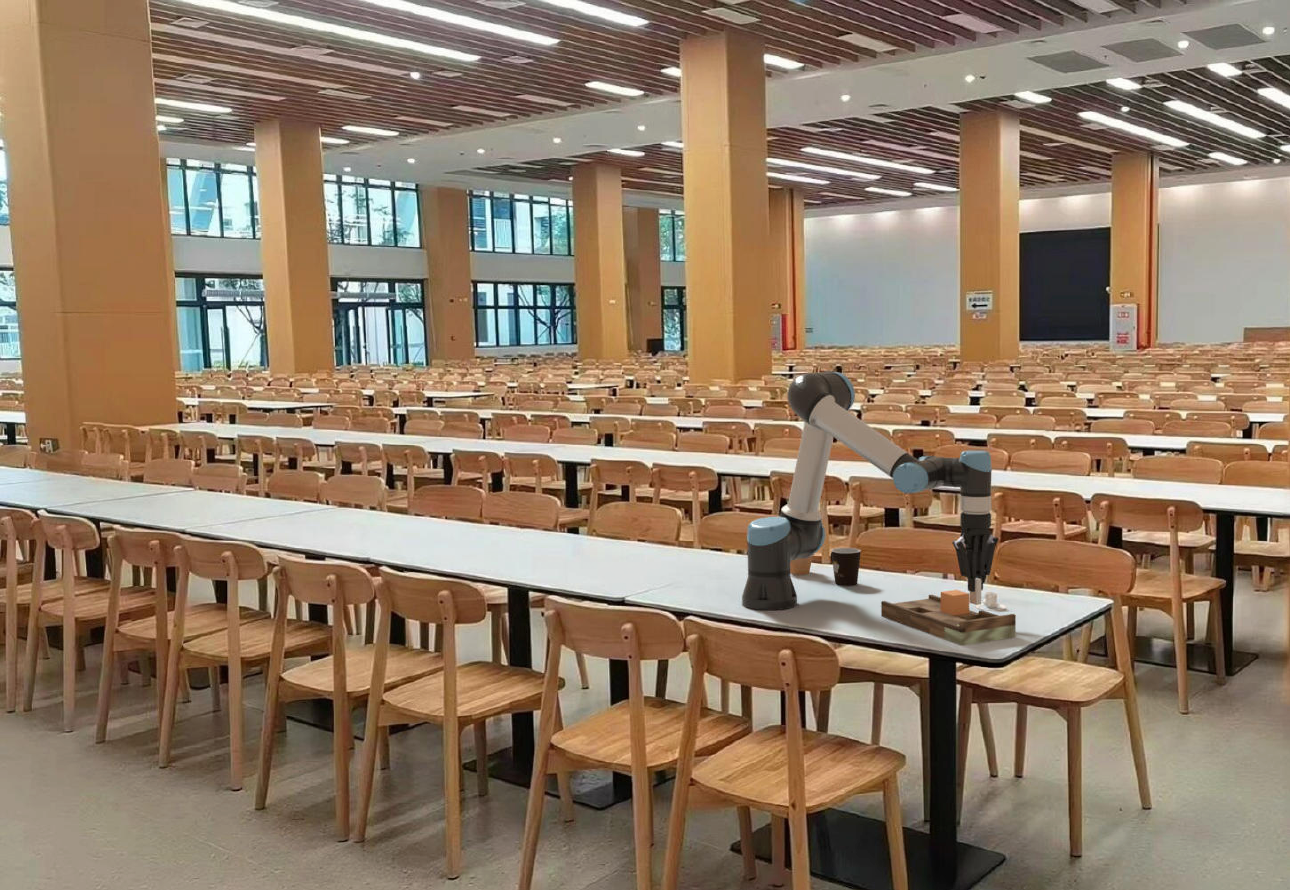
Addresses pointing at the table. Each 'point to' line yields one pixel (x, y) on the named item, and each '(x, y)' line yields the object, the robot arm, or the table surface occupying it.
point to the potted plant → (801, 565)
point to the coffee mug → (845, 565)
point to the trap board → (950, 621)
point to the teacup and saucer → (990, 601)
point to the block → (955, 602)
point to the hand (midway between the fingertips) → (975, 603)
